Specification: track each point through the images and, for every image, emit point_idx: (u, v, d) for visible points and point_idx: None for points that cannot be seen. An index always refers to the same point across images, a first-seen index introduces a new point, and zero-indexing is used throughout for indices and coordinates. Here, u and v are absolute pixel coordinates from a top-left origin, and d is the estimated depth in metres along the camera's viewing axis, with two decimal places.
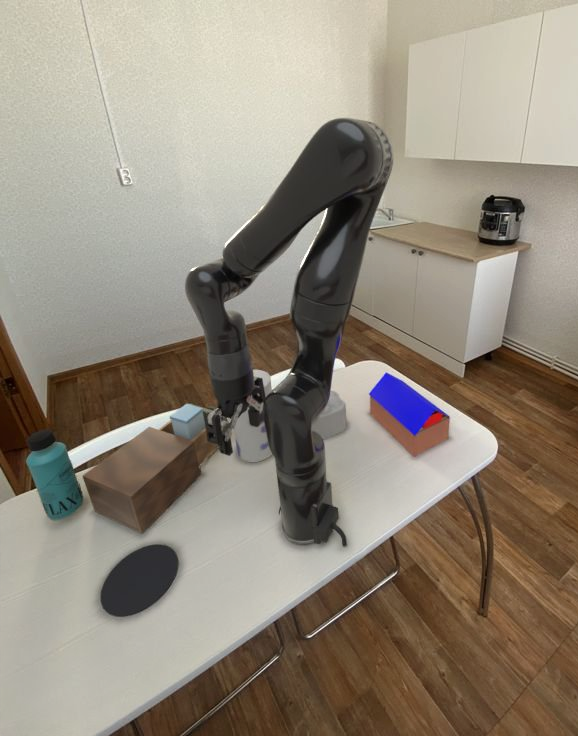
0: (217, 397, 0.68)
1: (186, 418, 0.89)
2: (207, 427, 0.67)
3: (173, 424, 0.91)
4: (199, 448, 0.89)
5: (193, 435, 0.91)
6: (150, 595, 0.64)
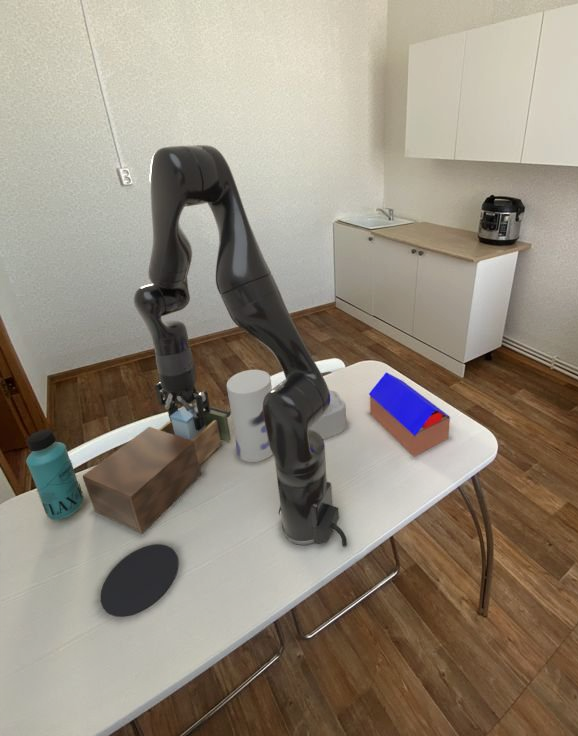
0: None
1: (186, 418, 0.89)
2: None
3: (173, 424, 0.91)
4: (199, 448, 0.89)
5: (193, 435, 0.91)
6: (150, 595, 0.64)
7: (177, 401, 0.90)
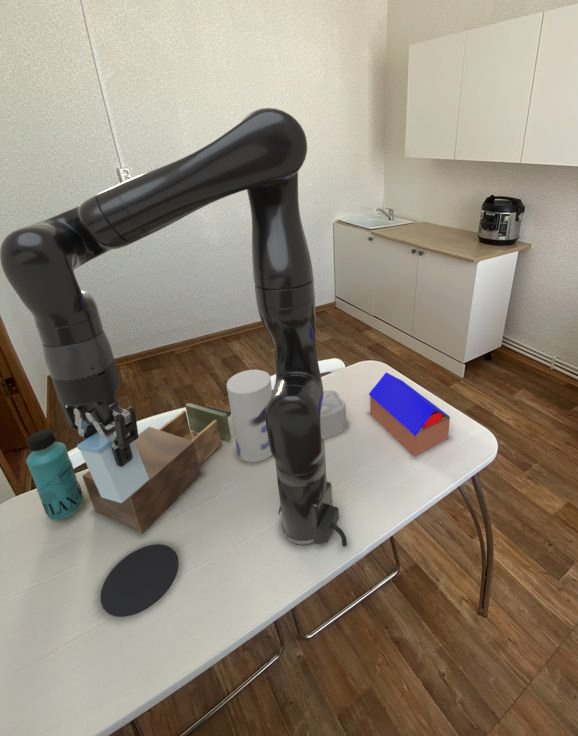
0: None
1: (99, 445, 0.57)
2: None
3: (85, 457, 0.58)
4: (200, 447, 0.89)
5: (117, 471, 0.58)
6: (150, 595, 0.64)
7: None
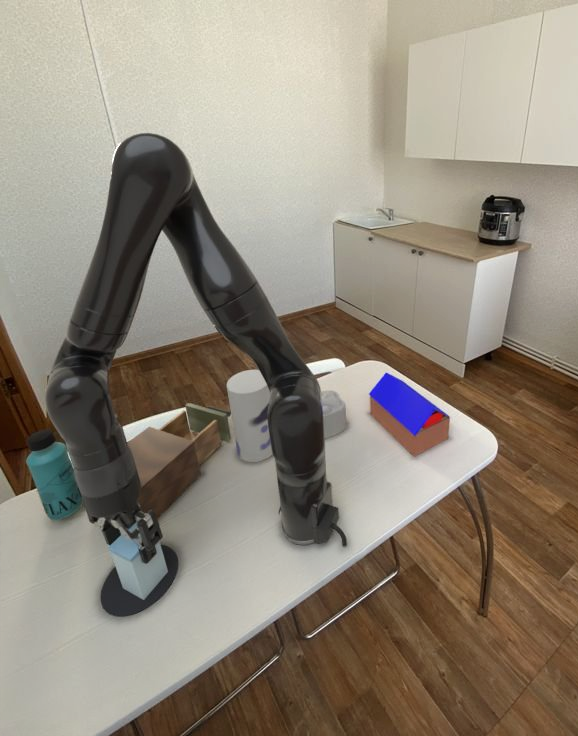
0: None
1: (131, 552, 0.61)
2: None
3: (114, 558, 0.63)
4: (200, 447, 0.89)
5: (143, 573, 0.63)
6: (150, 595, 0.64)
7: None
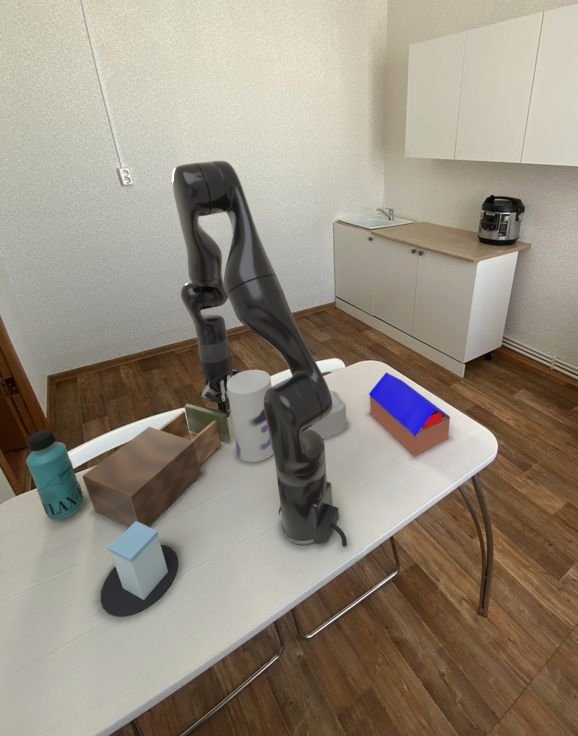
0: (205, 375, 0.97)
1: (131, 552, 0.61)
2: (205, 398, 0.98)
3: (114, 558, 0.63)
4: (199, 448, 0.89)
5: (143, 573, 0.63)
6: (150, 595, 0.64)
7: None
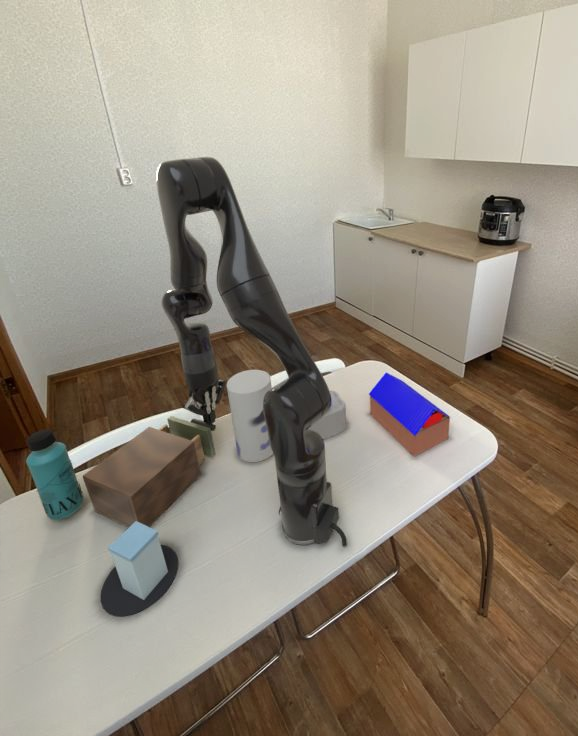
0: (189, 386, 0.92)
1: (131, 552, 0.61)
2: (189, 410, 0.93)
3: (114, 558, 0.63)
4: None
5: (143, 573, 0.63)
6: (150, 595, 0.64)
7: None
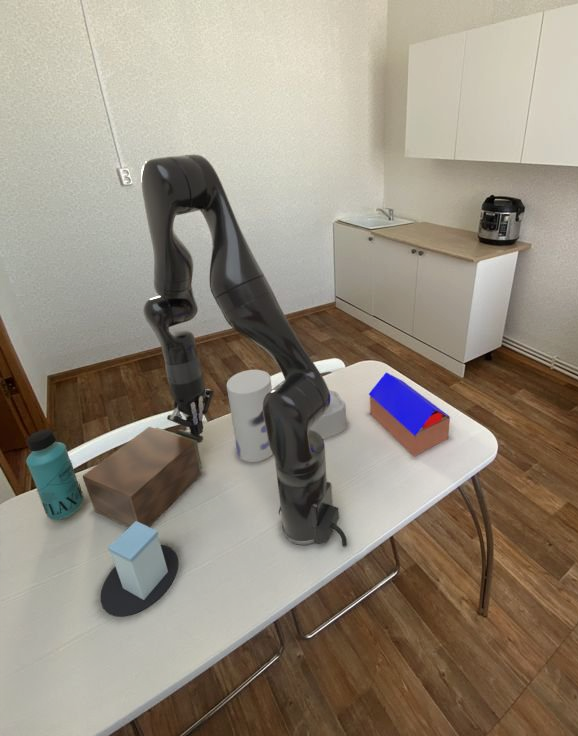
0: (173, 397, 0.88)
1: (131, 552, 0.61)
2: (175, 422, 0.89)
3: (114, 558, 0.63)
4: None
5: (143, 573, 0.63)
6: (150, 595, 0.64)
7: None
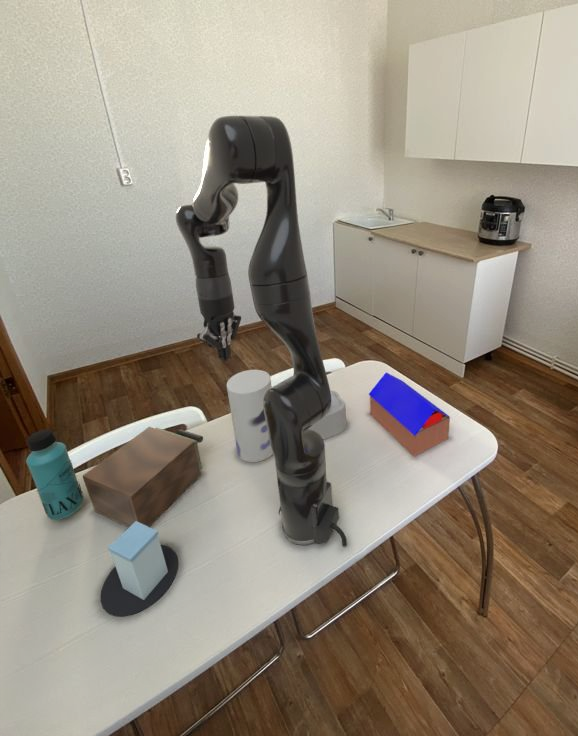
0: (203, 315, 0.86)
1: (131, 552, 0.61)
2: (204, 342, 0.87)
3: (114, 558, 0.63)
4: None
5: (143, 573, 0.63)
6: (150, 595, 0.64)
7: None
